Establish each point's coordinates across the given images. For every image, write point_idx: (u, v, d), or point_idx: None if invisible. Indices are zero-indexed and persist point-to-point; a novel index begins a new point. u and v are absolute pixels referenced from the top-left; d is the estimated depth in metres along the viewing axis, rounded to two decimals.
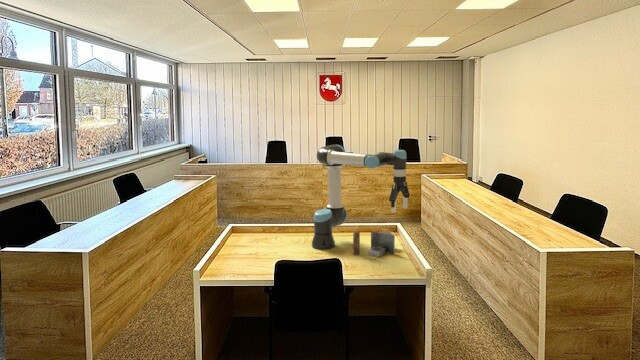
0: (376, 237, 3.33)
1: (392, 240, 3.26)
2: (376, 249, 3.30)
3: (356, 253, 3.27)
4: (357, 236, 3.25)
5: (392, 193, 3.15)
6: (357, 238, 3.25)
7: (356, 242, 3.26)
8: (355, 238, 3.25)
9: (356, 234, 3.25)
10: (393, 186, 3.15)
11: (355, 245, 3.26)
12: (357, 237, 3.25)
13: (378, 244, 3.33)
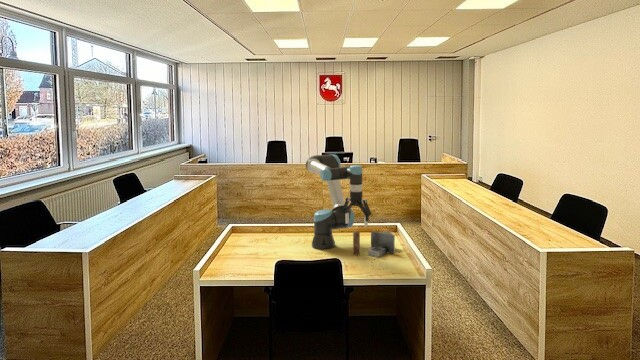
0: (376, 237, 3.33)
1: (392, 240, 3.26)
2: (376, 249, 3.30)
3: (356, 253, 3.27)
4: (357, 236, 3.25)
5: None
6: (357, 238, 3.25)
7: (356, 242, 3.26)
8: (355, 238, 3.25)
9: (356, 234, 3.25)
10: None
11: (355, 245, 3.26)
12: (357, 237, 3.25)
13: (378, 244, 3.33)
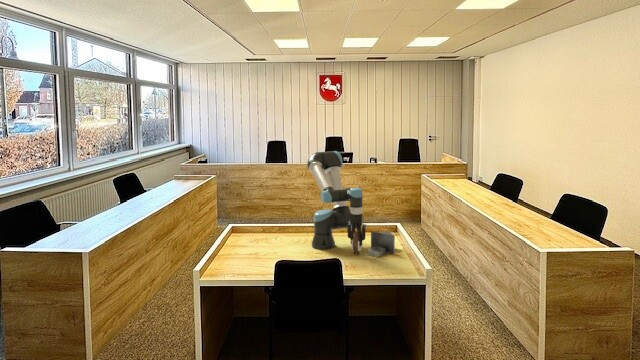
0: (376, 237, 3.33)
1: (392, 240, 3.26)
2: (376, 249, 3.30)
3: (356, 253, 3.27)
4: (357, 236, 3.25)
5: None
6: (357, 238, 3.25)
7: (356, 242, 3.26)
8: (355, 238, 3.25)
9: (356, 234, 3.25)
10: None
11: (355, 245, 3.26)
12: (357, 237, 3.25)
13: (378, 244, 3.33)
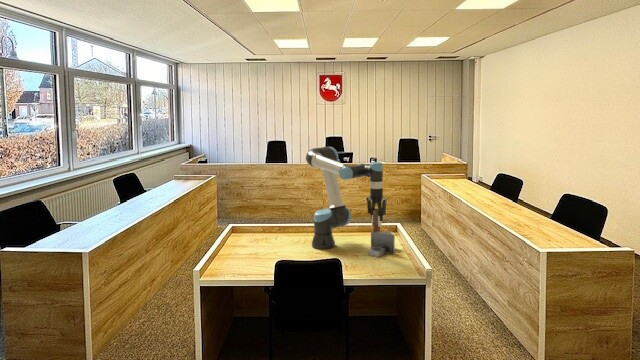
0: (376, 237, 3.33)
1: (392, 240, 3.26)
2: (376, 249, 3.30)
3: (376, 230, 3.22)
4: (377, 213, 3.20)
5: None
6: (377, 215, 3.21)
7: (376, 219, 3.21)
8: (375, 215, 3.21)
9: (376, 211, 3.20)
10: None
11: (375, 222, 3.22)
12: (377, 214, 3.21)
13: (378, 244, 3.33)
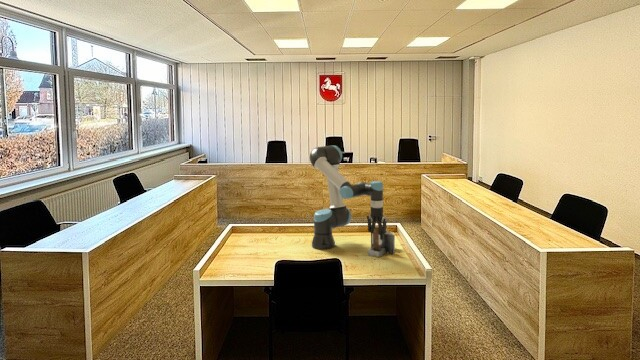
0: None
1: (392, 240, 3.26)
2: None
3: (377, 249, 3.24)
4: (378, 232, 3.23)
5: None
6: (378, 234, 3.23)
7: (377, 238, 3.23)
8: (376, 234, 3.23)
9: (377, 230, 3.22)
10: None
11: (376, 241, 3.24)
12: (378, 233, 3.23)
13: None
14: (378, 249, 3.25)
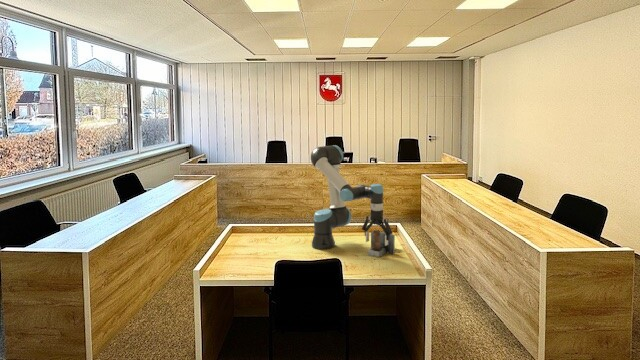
0: None
1: (392, 240, 3.26)
2: None
3: None
4: (377, 235, 3.23)
5: None
6: (377, 237, 3.23)
7: (376, 241, 3.24)
8: (375, 237, 3.23)
9: (376, 233, 3.23)
10: None
11: (375, 244, 3.24)
12: (377, 236, 3.23)
13: None
14: None
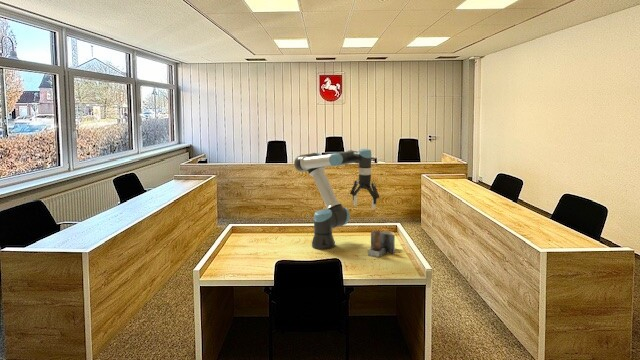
0: None
1: (392, 240, 3.26)
2: None
3: None
4: (377, 235, 3.23)
5: None
6: (377, 237, 3.23)
7: (376, 241, 3.24)
8: (375, 237, 3.23)
9: (376, 233, 3.23)
10: None
11: (375, 244, 3.24)
12: (377, 236, 3.23)
13: None
14: None
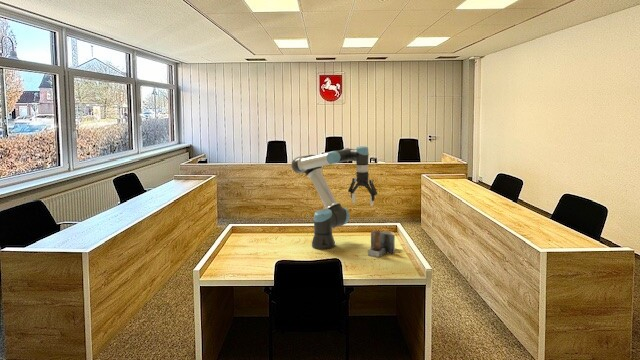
0: None
1: (392, 240, 3.26)
2: None
3: None
4: (377, 235, 3.23)
5: None
6: (377, 237, 3.23)
7: (376, 241, 3.24)
8: (375, 237, 3.23)
9: (376, 233, 3.23)
10: None
11: (375, 244, 3.24)
12: (377, 236, 3.23)
13: None
14: None
